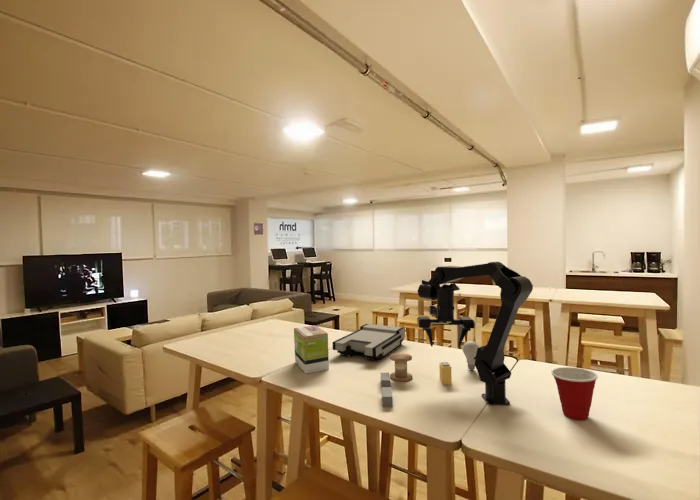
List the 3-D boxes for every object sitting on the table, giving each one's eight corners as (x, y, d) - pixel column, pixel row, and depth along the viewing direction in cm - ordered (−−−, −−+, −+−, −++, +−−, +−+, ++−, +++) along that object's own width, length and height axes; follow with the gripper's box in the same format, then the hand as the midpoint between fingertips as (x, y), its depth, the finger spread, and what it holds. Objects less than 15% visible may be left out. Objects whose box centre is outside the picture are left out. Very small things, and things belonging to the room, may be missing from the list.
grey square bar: (392, 406, 102) (392, 396, 102) (382, 406, 102) (382, 396, 102) (389, 381, 121) (389, 372, 121) (380, 381, 121) (380, 372, 121)
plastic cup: (554, 402, 102) (554, 362, 102) (599, 413, 95) (599, 370, 95) (548, 417, 93) (547, 373, 93) (596, 430, 87) (596, 383, 86)
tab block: (451, 384, 117) (451, 365, 117) (442, 384, 117) (441, 365, 117) (448, 379, 121) (448, 361, 121) (439, 379, 121) (439, 361, 121)
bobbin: (413, 381, 120) (413, 360, 120) (390, 381, 120) (390, 360, 120) (411, 373, 128) (410, 352, 128) (389, 373, 128) (389, 353, 128)
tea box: (294, 362, 143) (293, 327, 143) (316, 358, 147) (316, 324, 147) (305, 374, 129) (303, 335, 129) (329, 369, 133) (328, 332, 133)
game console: (332, 358, 148) (332, 339, 148) (366, 339, 176) (366, 323, 176) (376, 365, 138) (375, 345, 137) (405, 344, 165) (404, 327, 165)
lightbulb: (477, 367, 132) (477, 338, 132) (482, 373, 126) (481, 343, 126) (461, 367, 133) (460, 338, 132) (465, 373, 127) (464, 343, 126)
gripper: (466, 298, 126) (466, 340, 126) (415, 297, 127) (415, 339, 128) (475, 304, 115) (475, 350, 115) (419, 303, 116) (419, 349, 117)
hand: (445, 346), depth 119 cm, fingers open, 9 cm apart
